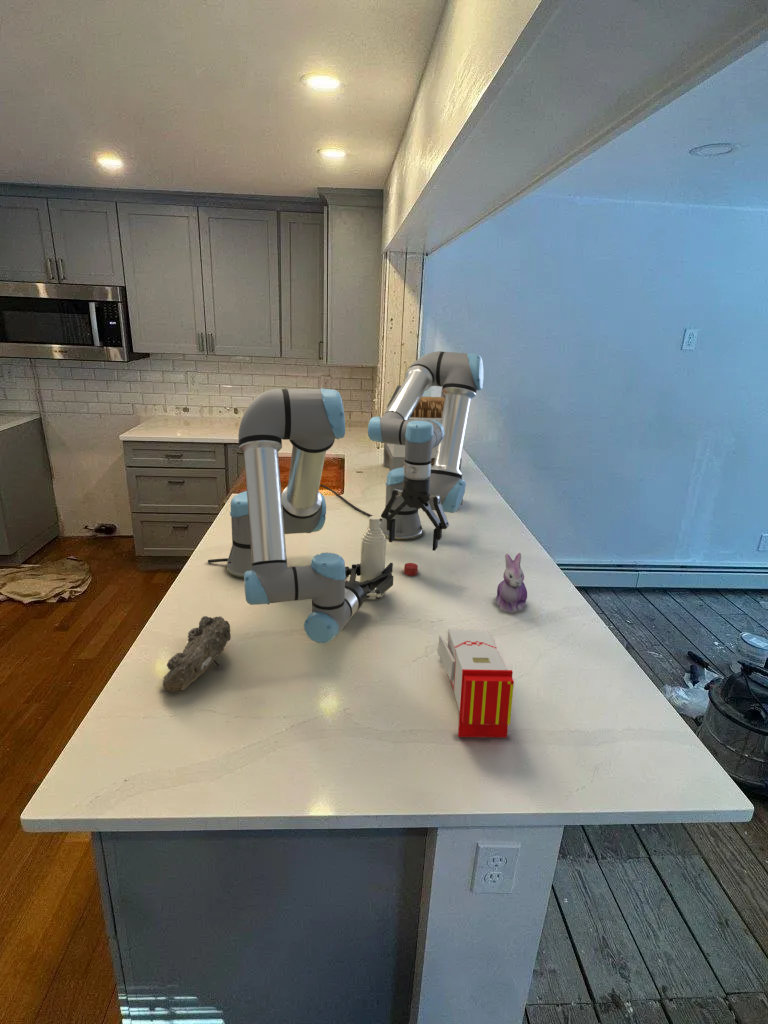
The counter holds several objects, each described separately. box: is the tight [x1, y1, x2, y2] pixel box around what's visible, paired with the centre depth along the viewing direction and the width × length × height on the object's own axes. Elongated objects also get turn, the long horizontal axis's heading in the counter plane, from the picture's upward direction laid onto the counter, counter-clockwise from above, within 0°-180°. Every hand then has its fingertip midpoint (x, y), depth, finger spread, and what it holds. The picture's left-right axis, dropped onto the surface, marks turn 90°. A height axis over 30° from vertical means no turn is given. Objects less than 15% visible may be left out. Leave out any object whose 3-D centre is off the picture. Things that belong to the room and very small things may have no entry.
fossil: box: [162, 615, 232, 693], centre depth 122 cm, size 22×10×15 cm
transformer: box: [383, 384, 463, 473], centre depth 268 cm, size 34×33×41 cm
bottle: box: [359, 515, 387, 600], centre depth 154 cm, size 7×7×23 cm
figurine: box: [495, 552, 528, 614], centre depth 152 cm, size 9×10×15 cm
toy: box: [437, 628, 515, 738], centre depth 117 cm, size 12×13×30 cm
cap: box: [403, 562, 419, 577], centre depth 170 cm, size 4×4×2 cm
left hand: (379, 564), depth 160 cm, fingers closed on bottle, 7 cm apart
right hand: (413, 544), depth 168 cm, fingers open, 13 cm apart
